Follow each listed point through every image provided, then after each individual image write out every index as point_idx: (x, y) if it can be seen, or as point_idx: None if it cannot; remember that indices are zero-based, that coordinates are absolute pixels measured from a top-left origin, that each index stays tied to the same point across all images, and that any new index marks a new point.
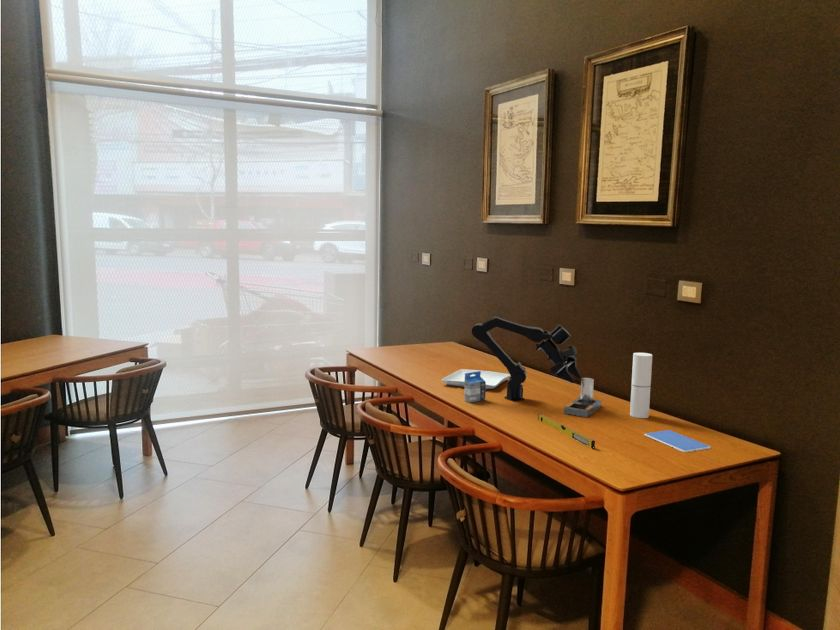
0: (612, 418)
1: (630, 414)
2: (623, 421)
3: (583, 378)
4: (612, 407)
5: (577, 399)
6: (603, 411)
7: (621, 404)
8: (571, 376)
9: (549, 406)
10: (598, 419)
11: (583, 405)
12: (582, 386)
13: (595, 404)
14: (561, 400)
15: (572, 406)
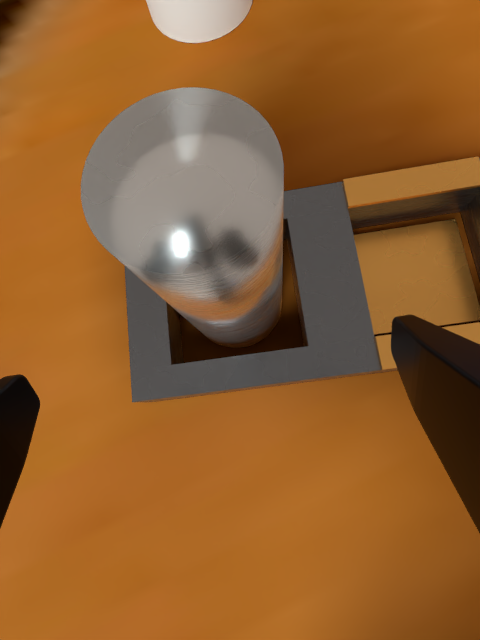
0: (372, 67)
1: (233, 22)
2: (383, 3)
3: (173, 247)
4: None
5: (224, 376)
6: None
7: (20, 164)
8: (468, 364)
9: (435, 556)
10: (465, 112)
11: (357, 258)
12: (275, 258)
13: None
14: (175, 557)
15: None
